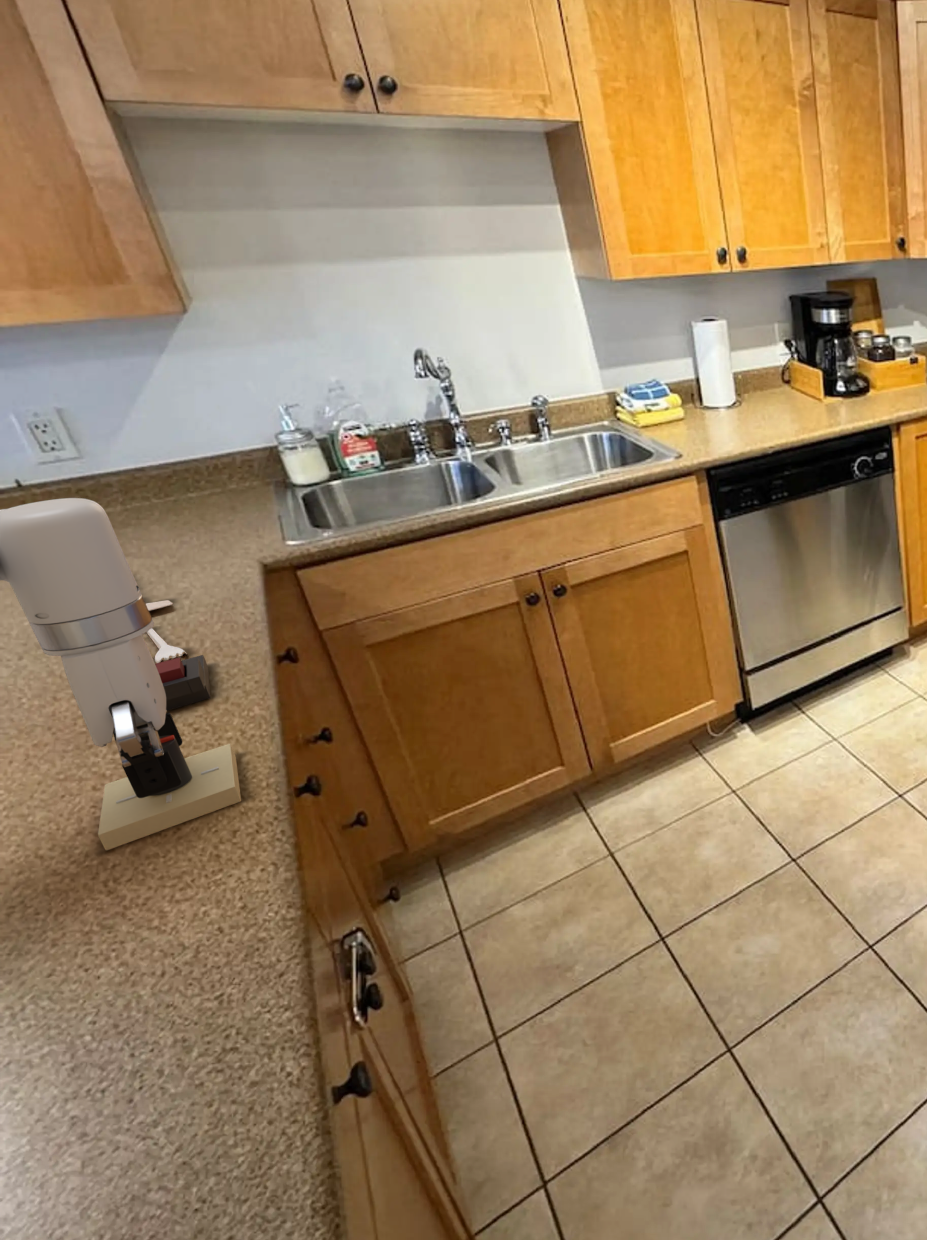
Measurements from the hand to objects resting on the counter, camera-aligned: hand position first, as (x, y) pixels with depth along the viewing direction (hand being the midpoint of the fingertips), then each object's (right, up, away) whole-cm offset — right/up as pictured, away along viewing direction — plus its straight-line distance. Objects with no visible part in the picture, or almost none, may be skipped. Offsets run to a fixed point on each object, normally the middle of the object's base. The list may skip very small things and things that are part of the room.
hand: (161, 769), depth 81 cm
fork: (-37, +7, +35) cm, 51 cm away
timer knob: (0, -2, +1) cm, 2 cm away
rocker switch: (-22, +3, +23) cm, 32 cm away
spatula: (-61, +13, +53) cm, 82 cm away
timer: (0, -4, +1) cm, 4 cm away
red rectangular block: (-20, +6, +19) cm, 28 cm away
